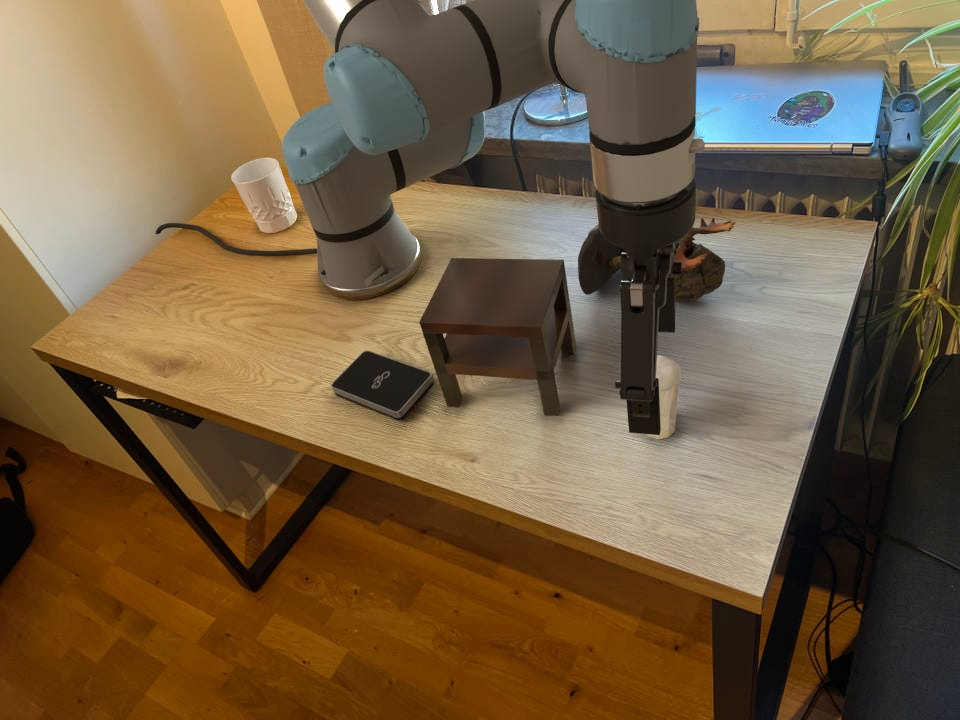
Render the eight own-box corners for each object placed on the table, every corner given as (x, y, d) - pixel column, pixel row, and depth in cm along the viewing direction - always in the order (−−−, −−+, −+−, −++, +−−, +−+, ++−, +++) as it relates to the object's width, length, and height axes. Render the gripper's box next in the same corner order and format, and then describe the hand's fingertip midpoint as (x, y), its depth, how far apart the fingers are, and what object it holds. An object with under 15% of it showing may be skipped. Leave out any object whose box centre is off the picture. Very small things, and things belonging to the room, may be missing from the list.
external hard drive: (370, 360, 91) (365, 349, 89) (438, 385, 85) (434, 373, 84) (334, 397, 87) (328, 386, 86) (403, 425, 81) (398, 414, 80)
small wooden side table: (447, 406, 82) (418, 322, 73) (474, 341, 89) (451, 257, 81) (557, 416, 78) (541, 327, 69) (576, 347, 85) (563, 258, 76)
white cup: (295, 231, 118) (272, 178, 111) (251, 239, 119) (225, 186, 112) (304, 206, 124) (282, 153, 117) (262, 213, 125) (238, 162, 118)
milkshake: (624, 417, 76) (618, 349, 69) (674, 407, 75) (673, 338, 69) (635, 450, 72) (629, 382, 66) (687, 439, 72) (687, 370, 65)
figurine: (611, 198, 95) (743, 202, 83) (624, 260, 100) (750, 273, 88) (551, 250, 87) (686, 263, 75) (568, 314, 92) (698, 336, 80)
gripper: (680, 285, 45) (682, 486, 59) (706, 104, 61) (703, 295, 76) (563, 283, 47) (592, 476, 62) (619, 109, 64) (632, 293, 78)
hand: (653, 377), depth 69 cm, fingers open, 13 cm apart
